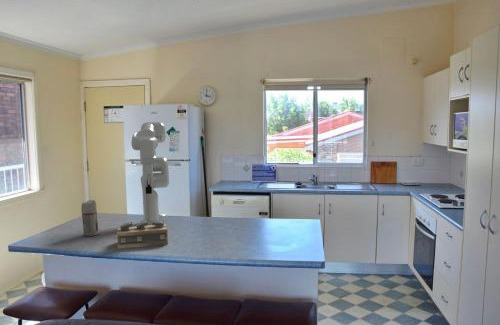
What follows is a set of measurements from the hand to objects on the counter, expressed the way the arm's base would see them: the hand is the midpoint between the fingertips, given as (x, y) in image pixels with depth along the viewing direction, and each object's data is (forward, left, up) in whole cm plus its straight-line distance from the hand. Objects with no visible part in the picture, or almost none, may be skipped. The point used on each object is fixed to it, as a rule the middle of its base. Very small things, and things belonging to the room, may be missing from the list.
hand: (148, 193), depth 221 cm
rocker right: (+2, +11, -15) cm, 19 cm away
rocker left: (+16, +4, -15) cm, 22 cm away
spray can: (+22, -28, -25) cm, 44 cm away
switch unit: (+9, +8, -25) cm, 27 cm away
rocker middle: (+9, +8, -15) cm, 19 cm away
